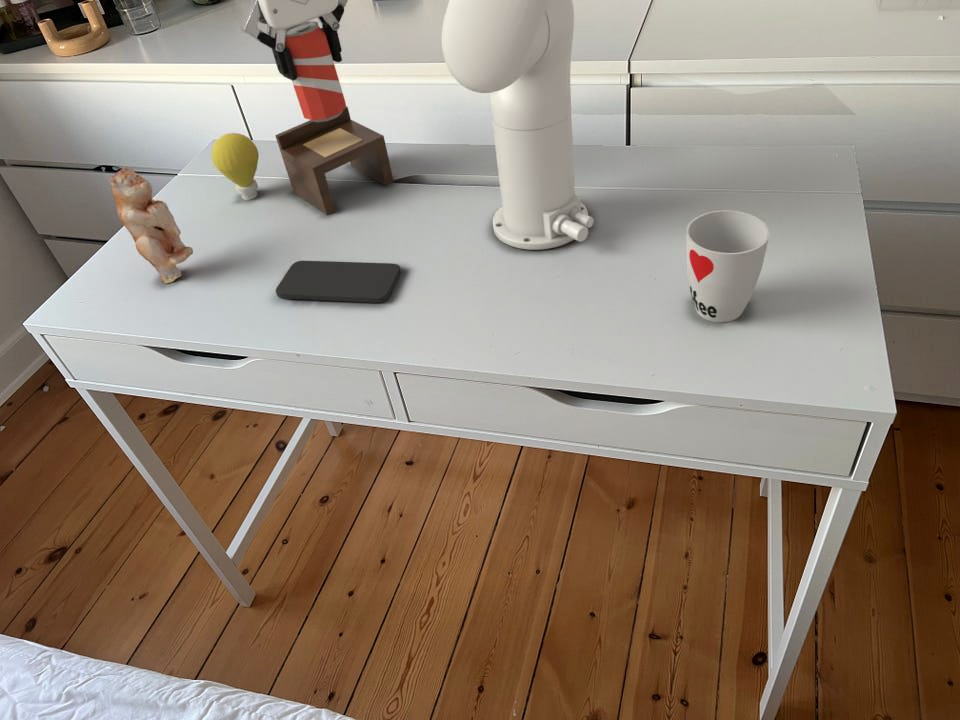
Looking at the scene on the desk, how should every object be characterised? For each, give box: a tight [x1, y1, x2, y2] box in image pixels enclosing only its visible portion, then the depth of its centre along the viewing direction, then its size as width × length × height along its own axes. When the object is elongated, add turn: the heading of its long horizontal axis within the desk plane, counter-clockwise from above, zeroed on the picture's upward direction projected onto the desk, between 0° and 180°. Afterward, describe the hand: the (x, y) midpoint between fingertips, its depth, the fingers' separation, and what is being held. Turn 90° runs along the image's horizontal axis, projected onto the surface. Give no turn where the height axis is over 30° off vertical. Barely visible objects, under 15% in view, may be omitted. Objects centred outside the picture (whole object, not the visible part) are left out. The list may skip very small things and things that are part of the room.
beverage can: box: [285, 20, 348, 122], centre depth 105 cm, size 6×6×12 cm
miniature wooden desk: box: [275, 105, 395, 216], centre depth 114 cm, size 10×12×10 cm
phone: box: [275, 260, 402, 304], centre depth 98 cm, size 7×1×15 cm
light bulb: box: [211, 132, 260, 201], centre depth 115 cm, size 7×7×10 cm
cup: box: [685, 209, 770, 323], centre depth 82 cm, size 8×8×10 cm
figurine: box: [108, 166, 194, 284], centre depth 100 cm, size 6×8×15 cm
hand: (312, 67), depth 104 cm, fingers closed on beverage can, 6 cm apart
